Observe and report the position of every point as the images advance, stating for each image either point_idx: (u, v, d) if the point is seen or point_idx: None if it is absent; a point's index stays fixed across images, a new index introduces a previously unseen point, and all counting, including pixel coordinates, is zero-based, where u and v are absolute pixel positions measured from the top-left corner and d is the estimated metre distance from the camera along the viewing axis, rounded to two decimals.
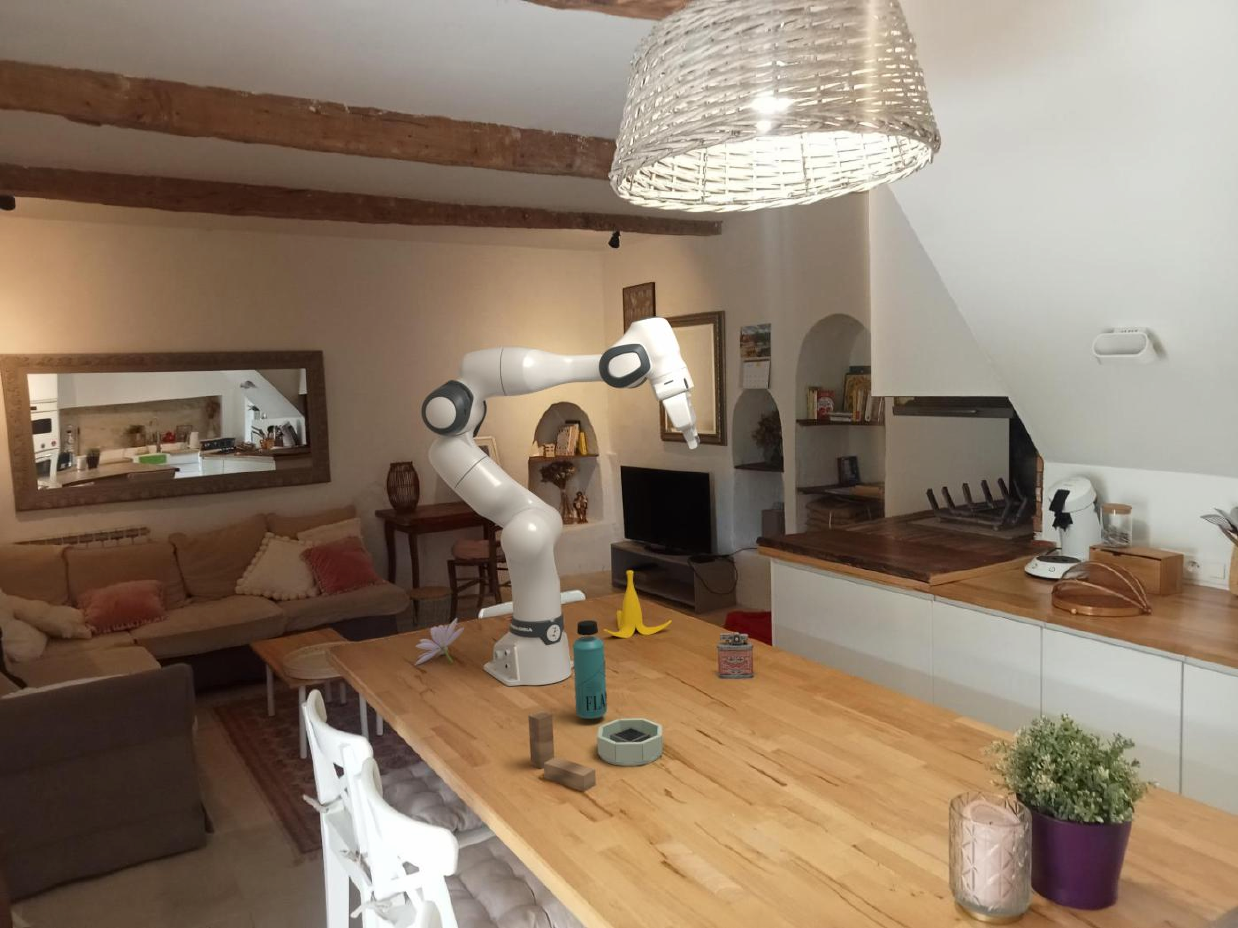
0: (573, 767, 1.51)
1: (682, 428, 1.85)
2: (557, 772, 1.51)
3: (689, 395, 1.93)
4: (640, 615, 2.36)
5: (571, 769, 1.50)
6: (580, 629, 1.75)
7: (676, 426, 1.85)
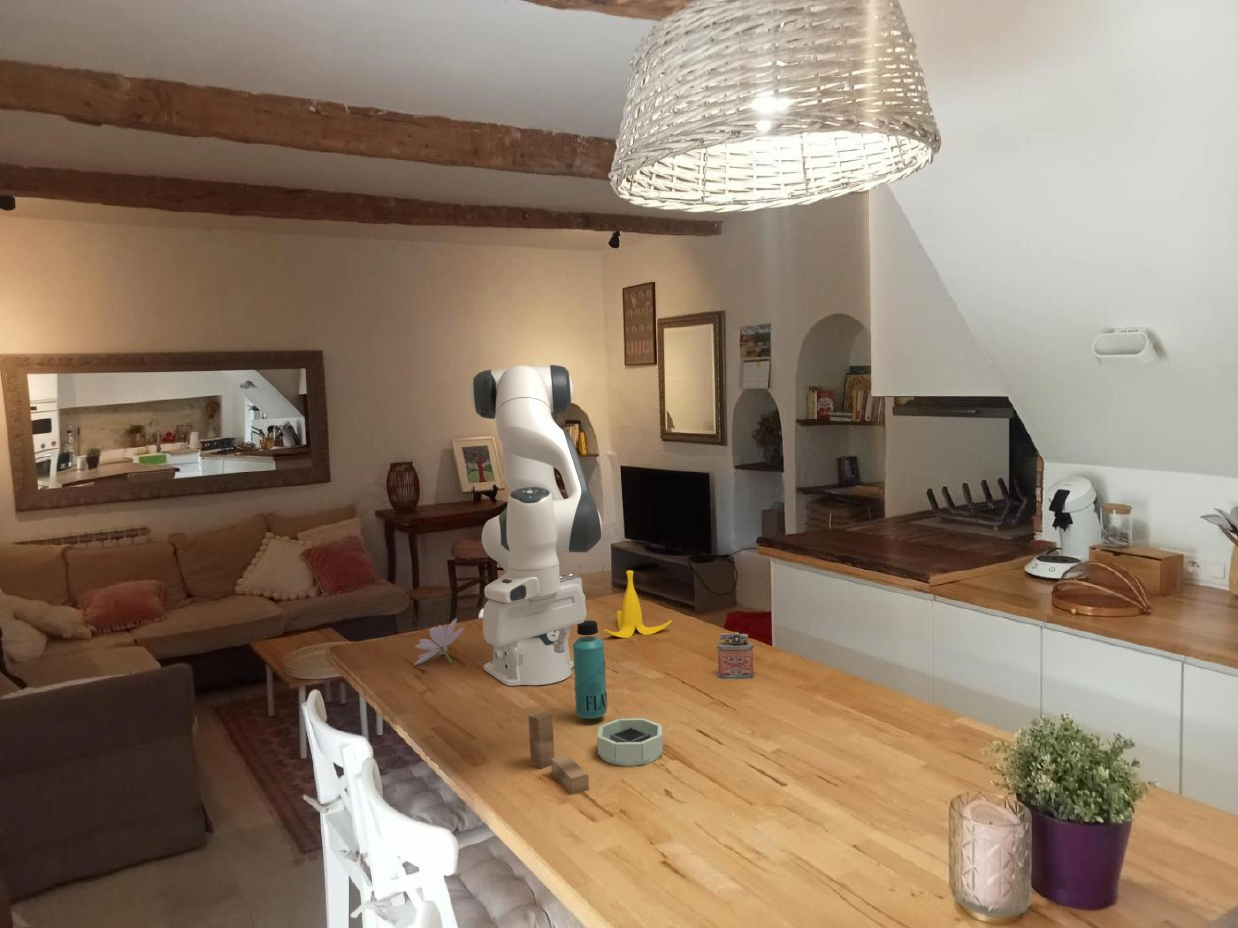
0: (571, 767, 1.51)
1: (489, 643, 1.51)
2: (558, 770, 1.52)
3: (538, 602, 1.53)
4: (640, 615, 2.36)
5: (568, 769, 1.50)
6: (580, 629, 1.75)
7: (484, 637, 1.51)
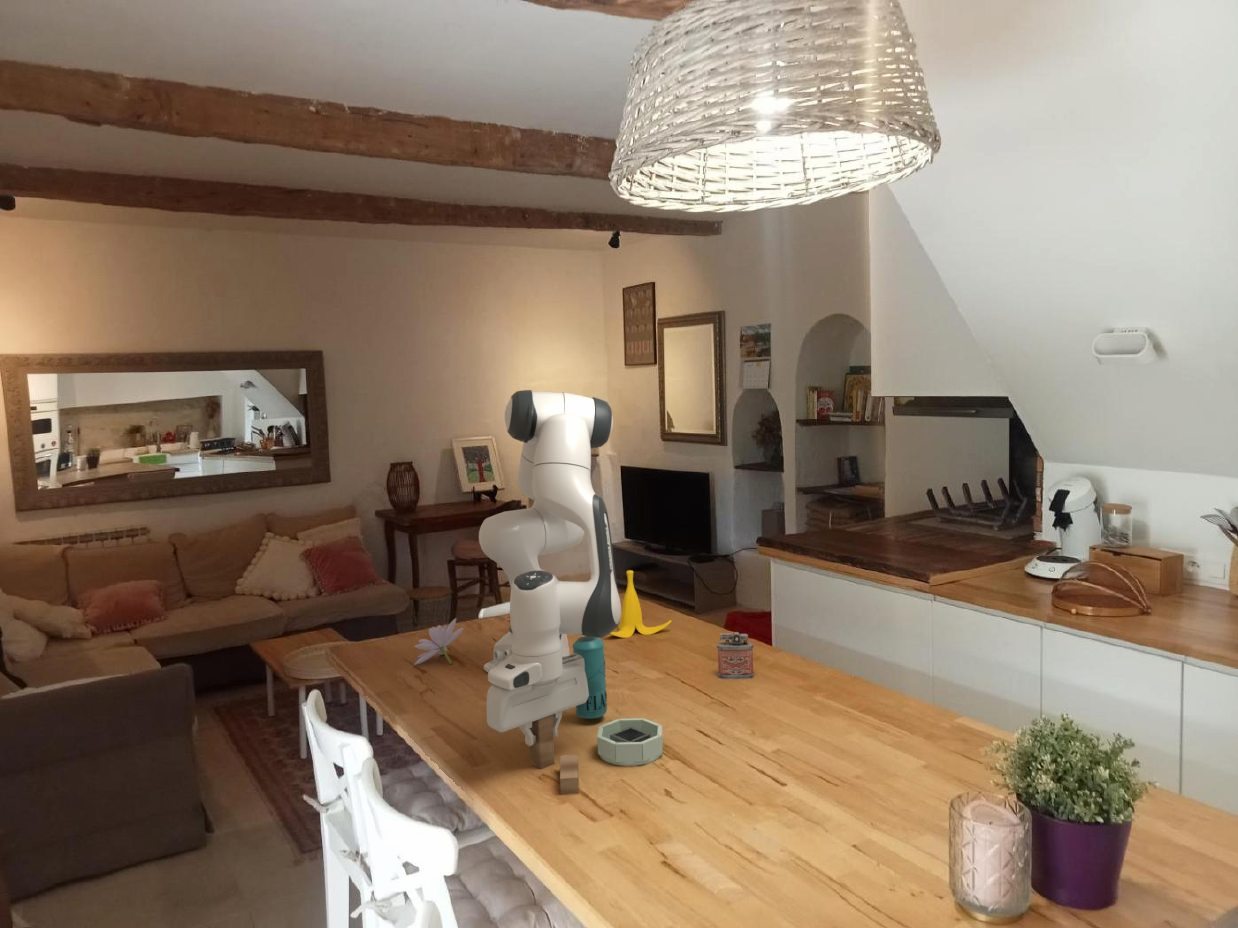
0: (569, 768, 1.51)
1: (493, 728, 1.52)
2: None
3: (541, 687, 1.55)
4: (640, 615, 2.36)
5: (565, 769, 1.50)
6: None
7: (488, 722, 1.52)
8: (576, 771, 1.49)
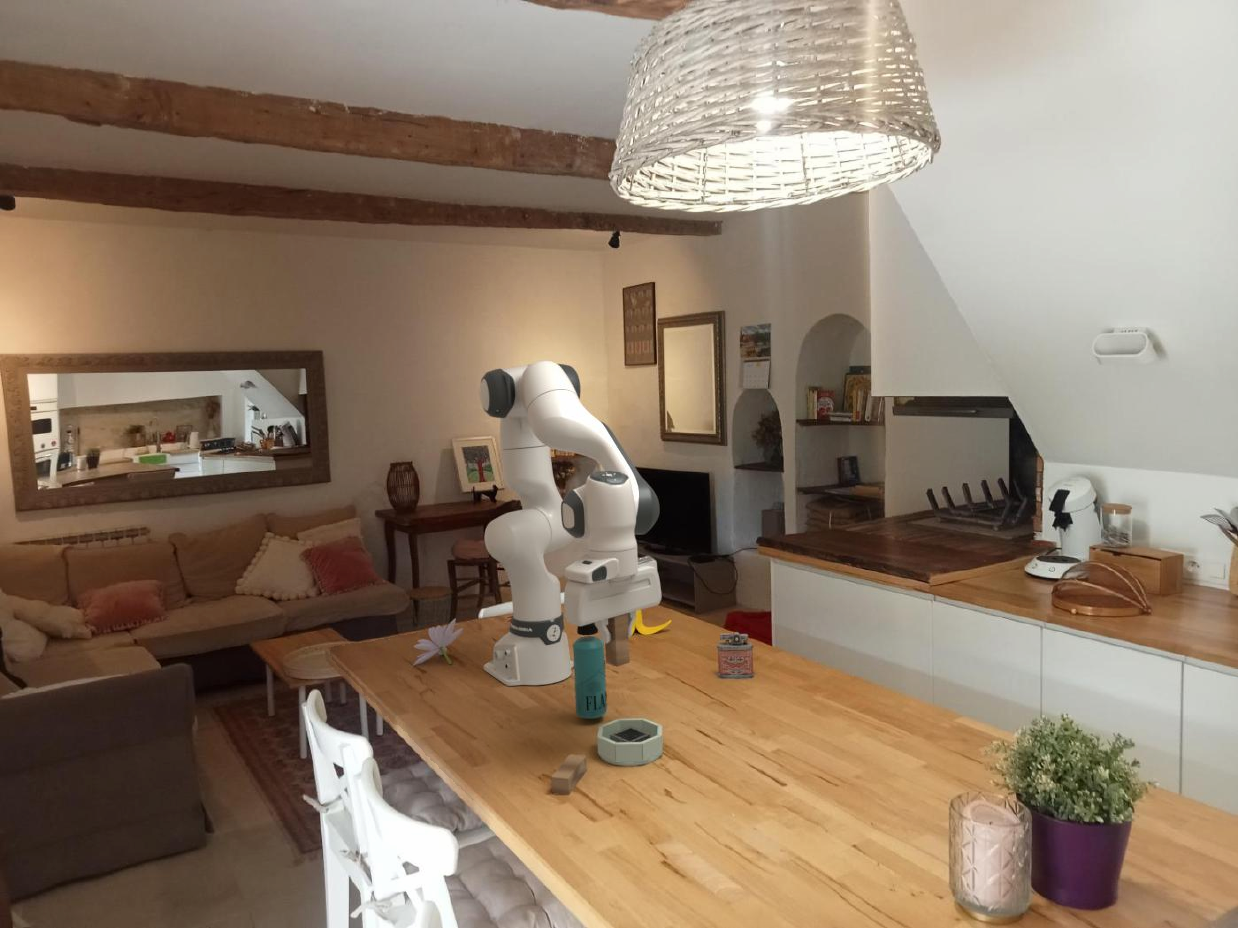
0: (567, 768, 1.51)
1: (571, 623, 1.53)
2: None
3: (618, 583, 1.56)
4: (640, 614, 2.36)
5: (563, 768, 1.51)
6: (580, 629, 1.75)
7: (565, 617, 1.54)
8: (571, 772, 1.49)
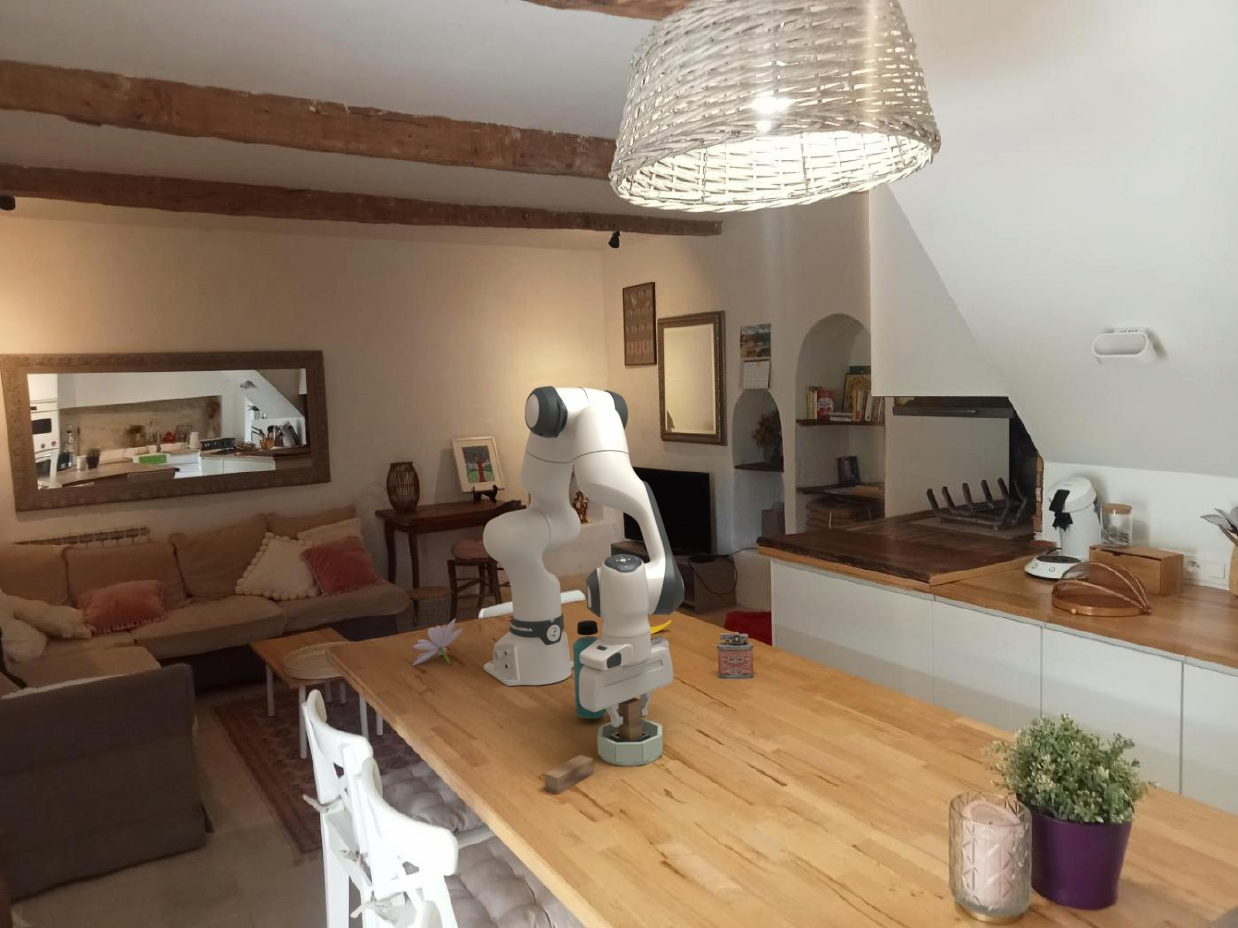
0: (565, 768, 1.51)
1: (585, 708, 1.55)
2: None
3: (632, 668, 1.58)
4: None
5: (561, 767, 1.51)
6: (580, 629, 1.75)
7: (580, 702, 1.56)
8: (565, 772, 1.49)
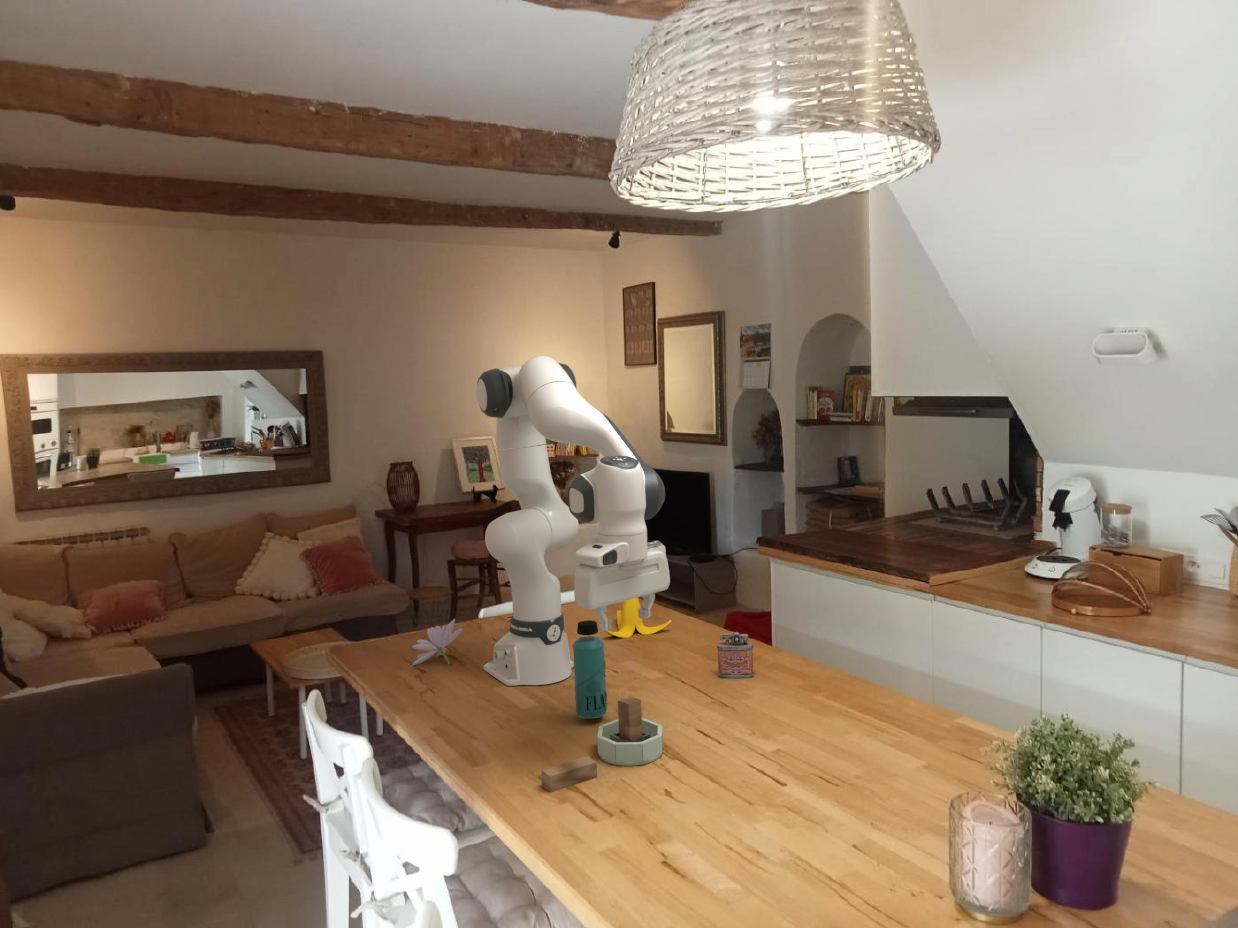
0: (564, 767, 1.51)
1: (581, 606, 1.53)
2: None
3: (628, 567, 1.56)
4: None
5: (561, 766, 1.51)
6: (580, 629, 1.75)
7: (575, 601, 1.54)
8: (561, 772, 1.49)
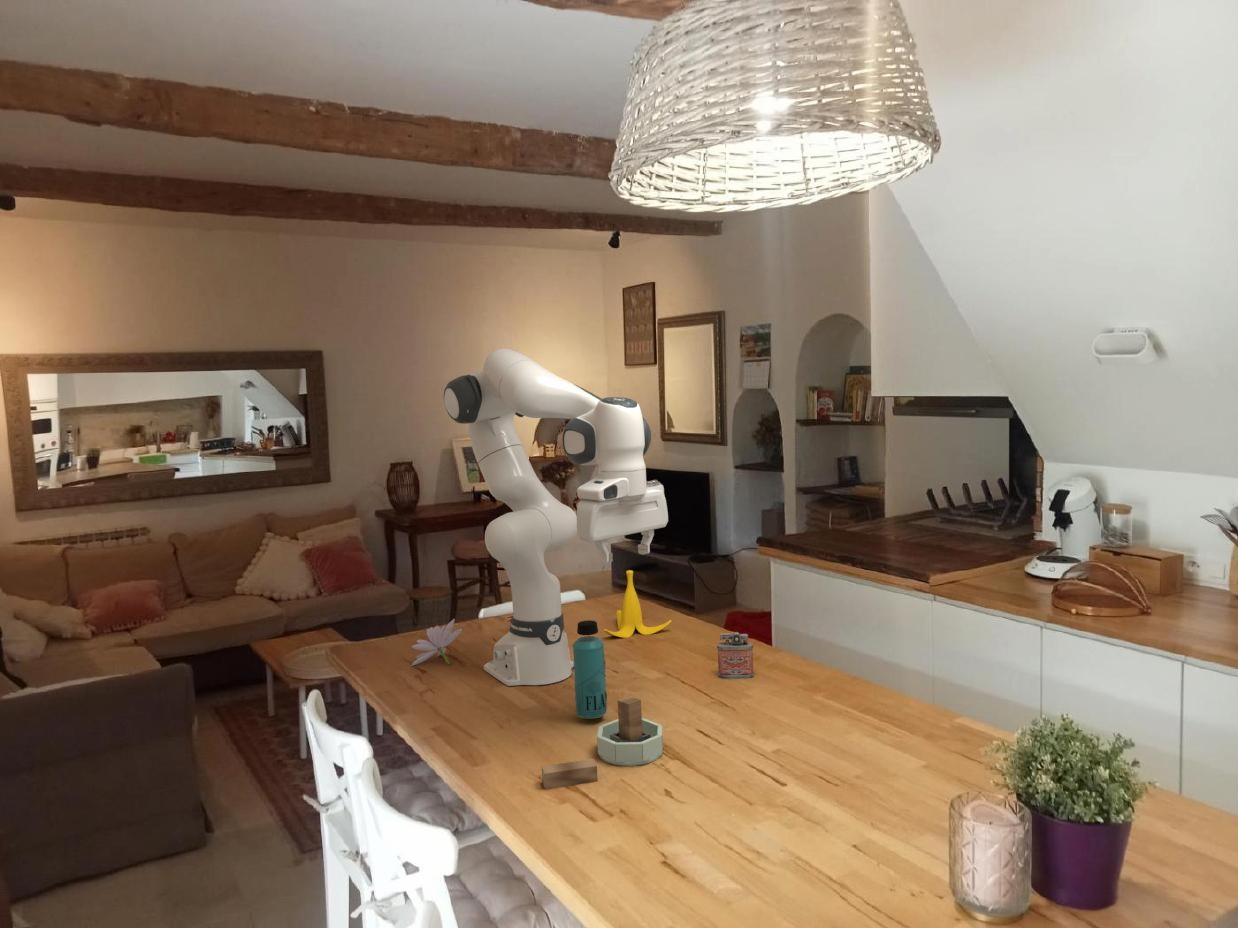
0: (563, 766, 1.51)
1: (583, 539, 1.61)
2: None
3: (628, 503, 1.63)
4: (640, 614, 2.36)
5: (561, 765, 1.52)
6: (580, 629, 1.75)
7: (578, 534, 1.61)
8: (557, 771, 1.50)
